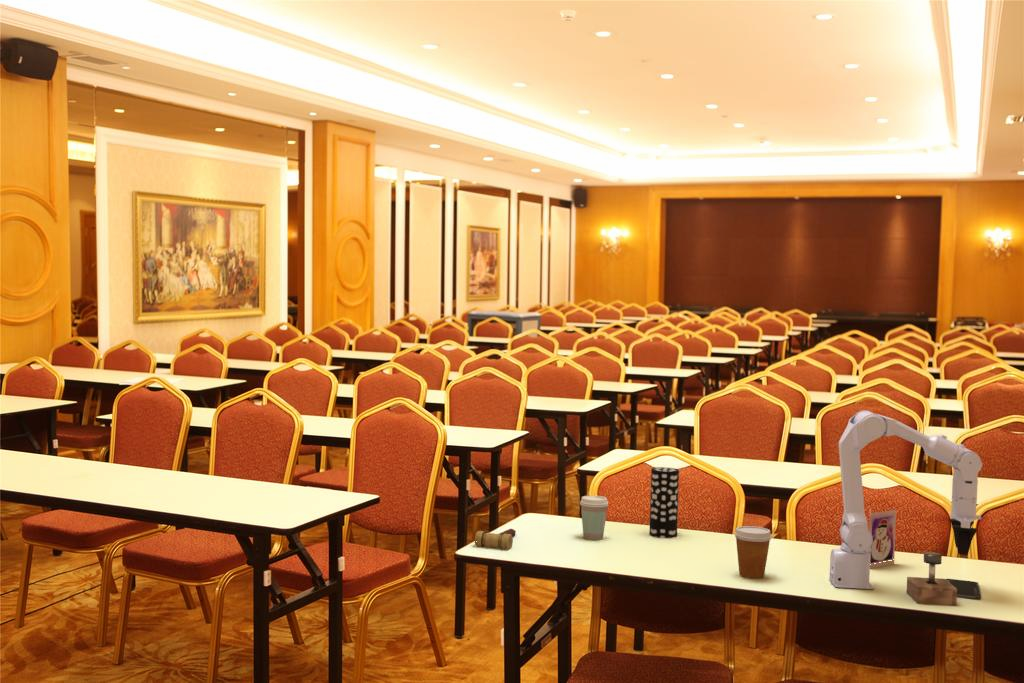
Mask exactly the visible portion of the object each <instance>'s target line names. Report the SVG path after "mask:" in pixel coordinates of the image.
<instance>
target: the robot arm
mask: <svg viewBox="0 0 1024 683" xmlns="http://www.w3.org/2000/svg"><path fill="white" fill-rule="evenodd" d="M883 436H885V437H891V436H897V437H900V438H901V439H904V440H905V441H908V442H910V443H913V444H915V445H916V446H920V447H922V449H923V452H924V454H925V455H926V456H928V457H930V458H933V459H934V460H936V461H939V462H940V463H943V464H945V465H947V466H951V467H952V468H953V470H952V471H953V474H952V484H951V504H950V505H951V506H950V514H949V517H950V518H949V522H950V524H951V528H952V530H953V537H954V544H955V545H954V546H955V548H957V549H956V550H957V553H958V555H959V556H968V555H969V553H970V548H971V546H972V545H971V544H972V541H973V539H974V536H975V535H976V533H977V532H978V529H977V527H972V526H973V524H974V523H975V521H977V520H982V516H981V515H978V514H977V503H978V501H977V500H978V482H979V481H978V476H979V472H980V471H981V469H982V468H983V465H984V464H983V462H982V458H981V457H980V456H979V454H978V453H976V452H975V451H972V450H970V449H968V448H966V447H965V445H964V444H962V443H959V444H957V443H955V442H953V441H951V440H950V439H948V437H947V435H944V434H941V433H940V435H939V434H932V435H926V434H925V433H923V432H920V431H918V430H916V429H915V428H913V427H910V426H909V425H907V424H906V423H905V424H904V423H903V422H901V421H898V420H897V419H894V418H892V417H888V416H885V415H882V414H878V413H874V412H872V411H870V410H867V409H866V410H859V411H858V412H856V413H855V414H854V415H853V416H852V417H850V418H849V419H848V423H847V426H846V427H845V429H844V431H843V433H842V435H841V437H840V439H839V440H838V452H839V464H840V465H839V466H840V467H839V468H840V477H841V479H840V480H841V491H842V492H841V493H842V501H843V502H842V504H843V514H842V516H841V517H842V522H841V523H842V524H841V525H840V528H839V535H840V537H841V538H840V539H841V540H842V541H843V542H841V545H840V547H839V548H832V549H831V551H830V558H829V560H830V561H829V577H828V580H829V581H830V583H831V584H832V585H833V586H834V587H835V588H843V589H845V588H846V589H861V590H863V589H864V590H866V589H867V590H874V589H875V587H874V586H873V585H872V583H871V582H870V572H871V570H870V569H871V568H870V550H871V549H870V547H871V545H872V543H873V537H872V535H871V533H870V531H869V524H868V520H867V517H866V513H865V501H864V491H863V489H864V488H863V477H862V466H861V465H862V464H861V463H862V462H861V453H860V452H861V450H863V448H865V447H866V446H867V445H868V444H869V443H870V442H871V443H872V442H873V441H875V440H878V439H879V438H881V437H883Z"/></svg>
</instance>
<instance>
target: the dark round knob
mask: <svg viewBox="0 0 1024 683" xmlns="http://www.w3.org/2000/svg"><path fill="white" fill-rule="evenodd" d="M942 556H943V555H942V554H941V553H938V552H932V551H926V552H925V551H924V552H923V562H924V563H926V564H928V578H929V584H935V578H936V565H941V564H942Z"/></svg>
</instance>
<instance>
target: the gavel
mask: <svg viewBox="0 0 1024 683" xmlns="http://www.w3.org/2000/svg"><path fill="white" fill-rule="evenodd" d="M516 532H517V531H516V530H515V529H513V528H509V529H506V530H504V531H502V532H499V533H492V532H486V531H485V530H484V531H483V530H478V531H476V533H475V536H474V546H475V547H477V548H483V547H485V548H491V549H492V548H493V549H501V550H503V551H509V550H511V549H512V548H513V544H514V542H513V541H514V539H513V538H514V537H515V536H516ZM476 541H477V542H476Z"/></svg>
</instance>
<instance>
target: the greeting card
mask: <svg viewBox="0 0 1024 683" xmlns="http://www.w3.org/2000/svg"><path fill="white" fill-rule="evenodd" d="M868 523H869V524H868V530H869V531H870V533H871V535H872V537H873V543H872V545H871V547H870V549H871V550H870V564H871V565H870V569H873V568H874V569H875V568H879V567H884V566H889V565H890V566H891V565H894V564H895V552H896V551H895V550H896V549H895V548H896V530H897V529H896V528H897V526H896V525H897V509H891V510H886V511H878V512H873V513H872V509H870V511H869V522H868ZM893 559H894V560H893ZM888 560H892V561H888ZM883 561H886V562H883ZM879 562H881V563H879ZM874 563H876V564H874Z"/></svg>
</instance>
